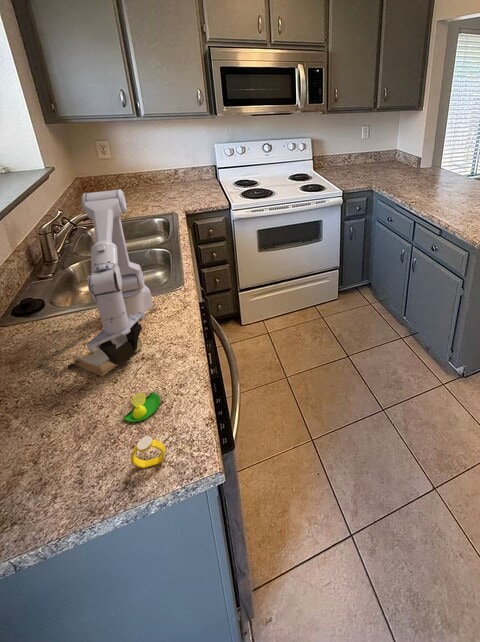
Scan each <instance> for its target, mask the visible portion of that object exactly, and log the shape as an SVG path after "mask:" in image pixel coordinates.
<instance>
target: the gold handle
mask: <svg viewBox="0 0 480 642" xmlns="http://www.w3.org/2000/svg"><path fill="white" fill-rule="evenodd" d="M75 366H76V364H75V363H73V362H72V363H70V364H68V365H67V367H68V368H69V369H72V368H73V367H75Z"/></svg>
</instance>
